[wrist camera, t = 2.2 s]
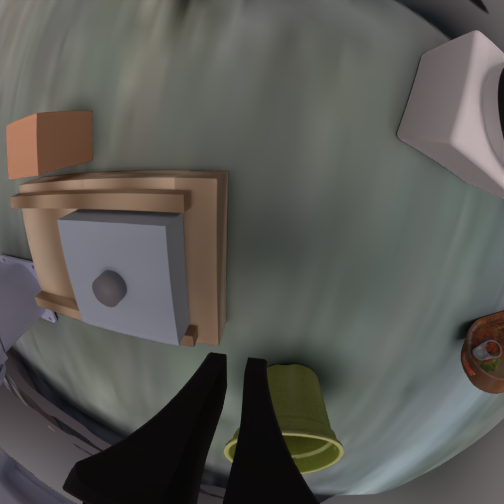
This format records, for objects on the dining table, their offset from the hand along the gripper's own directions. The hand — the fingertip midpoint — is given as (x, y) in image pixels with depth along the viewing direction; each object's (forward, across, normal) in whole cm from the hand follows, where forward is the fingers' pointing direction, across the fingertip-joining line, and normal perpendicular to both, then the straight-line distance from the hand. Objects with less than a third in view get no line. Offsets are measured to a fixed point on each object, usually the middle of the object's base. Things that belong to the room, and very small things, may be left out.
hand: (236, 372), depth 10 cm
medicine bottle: (+11, -12, -12) cm, 20 cm away
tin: (+11, -26, +5) cm, 29 cm away
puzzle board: (+10, +12, 0) cm, 16 cm away
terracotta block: (+10, +16, -9) cm, 21 cm away
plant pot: (+11, -4, +13) cm, 17 cm away
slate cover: (+7, +8, 0) cm, 11 cm away
